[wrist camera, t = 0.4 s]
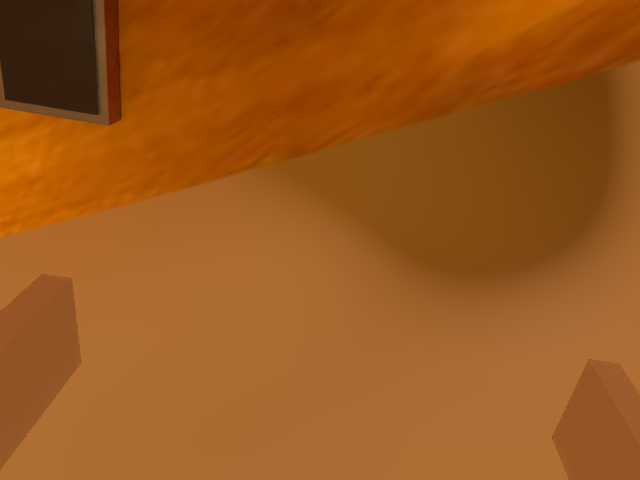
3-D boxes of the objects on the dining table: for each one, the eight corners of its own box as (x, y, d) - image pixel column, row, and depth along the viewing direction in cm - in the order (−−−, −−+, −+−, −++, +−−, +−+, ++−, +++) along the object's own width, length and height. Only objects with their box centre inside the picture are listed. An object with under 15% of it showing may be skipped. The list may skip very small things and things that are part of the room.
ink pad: (-4, -67, 33) (-28, -71, 31) (115, -47, 33) (99, -49, 31) (16, 101, 38) (-4, 107, 36) (120, 119, 38) (107, 126, 36)
